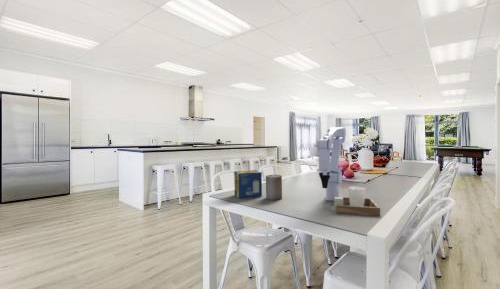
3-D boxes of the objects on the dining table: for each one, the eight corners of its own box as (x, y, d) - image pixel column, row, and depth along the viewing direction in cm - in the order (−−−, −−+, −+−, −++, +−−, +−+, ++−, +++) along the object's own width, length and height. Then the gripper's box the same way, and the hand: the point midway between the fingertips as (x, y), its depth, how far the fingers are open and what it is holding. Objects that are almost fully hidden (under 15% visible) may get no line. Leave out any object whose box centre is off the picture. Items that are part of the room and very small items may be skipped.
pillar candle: (281, 196, 155) (281, 172, 155) (282, 200, 146) (281, 174, 145) (266, 196, 156) (265, 172, 156) (265, 200, 146) (265, 174, 146)
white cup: (362, 205, 133) (362, 186, 133) (367, 209, 125) (367, 189, 125) (347, 204, 134) (346, 186, 134) (351, 209, 126) (351, 189, 126)
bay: (333, 203, 138) (333, 196, 138) (370, 204, 133) (370, 198, 133) (336, 213, 120) (336, 205, 120) (380, 215, 115) (380, 208, 115)
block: (334, 208, 128) (334, 196, 127) (342, 209, 126) (342, 197, 126) (334, 210, 124) (334, 198, 124) (343, 211, 123) (343, 199, 123)
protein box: (234, 195, 161) (233, 171, 160) (256, 193, 165) (256, 170, 165) (238, 198, 151) (238, 173, 150) (262, 196, 155) (262, 171, 155)
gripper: (316, 160, 141) (316, 184, 142) (316, 162, 127) (316, 189, 128) (329, 160, 140) (329, 184, 140) (331, 162, 126) (331, 189, 126)
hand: (324, 186), depth 134 cm, fingers open, 7 cm apart
